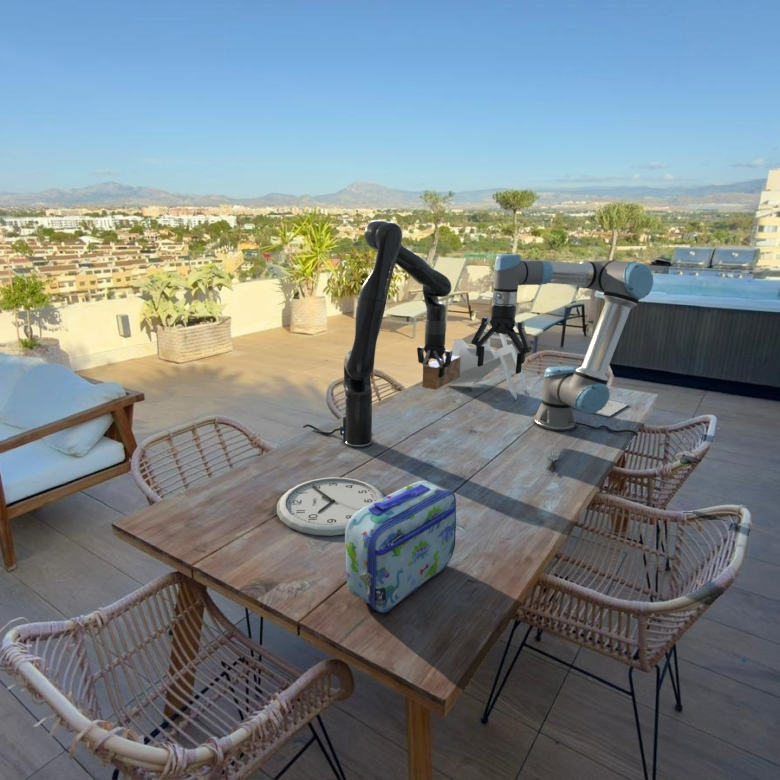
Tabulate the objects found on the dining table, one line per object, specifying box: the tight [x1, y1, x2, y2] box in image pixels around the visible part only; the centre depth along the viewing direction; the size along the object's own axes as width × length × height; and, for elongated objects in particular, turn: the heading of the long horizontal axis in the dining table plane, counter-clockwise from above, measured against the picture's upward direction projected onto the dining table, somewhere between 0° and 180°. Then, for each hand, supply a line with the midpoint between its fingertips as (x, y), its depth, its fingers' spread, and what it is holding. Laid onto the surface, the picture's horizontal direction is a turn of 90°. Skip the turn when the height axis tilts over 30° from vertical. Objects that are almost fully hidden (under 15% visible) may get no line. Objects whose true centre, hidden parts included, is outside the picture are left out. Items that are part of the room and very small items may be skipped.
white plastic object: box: [445, 333, 531, 400], centre depth 245 cm, size 37×45×31 cm
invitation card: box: [595, 399, 629, 418], centre depth 226 cm, size 21×1×15 cm
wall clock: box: [276, 476, 386, 537], centre depth 142 cm, size 30×2×30 cm
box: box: [421, 355, 461, 391], centre depth 203 cm, size 21×6×8 cm, turn 148°
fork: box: [549, 449, 560, 474], centre depth 170 cm, size 3×16×2 cm, turn 160°
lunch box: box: [344, 480, 457, 614], centre depth 109 cm, size 26×11×21 cm, turn 135°
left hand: (433, 375), depth 197 cm, fingers closed on box, 5 cm apart
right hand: (498, 369), depth 172 cm, fingers open, 13 cm apart
